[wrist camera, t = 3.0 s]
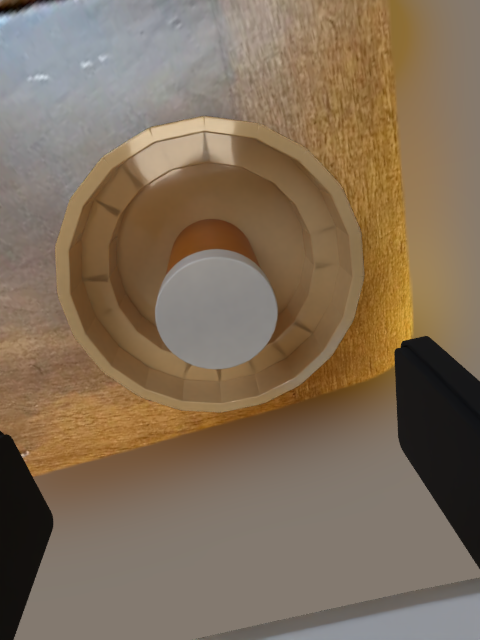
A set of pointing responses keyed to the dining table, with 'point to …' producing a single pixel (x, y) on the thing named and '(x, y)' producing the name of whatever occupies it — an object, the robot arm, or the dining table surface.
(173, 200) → the beige round dish
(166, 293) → the pill bottle
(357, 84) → the dining table surface
